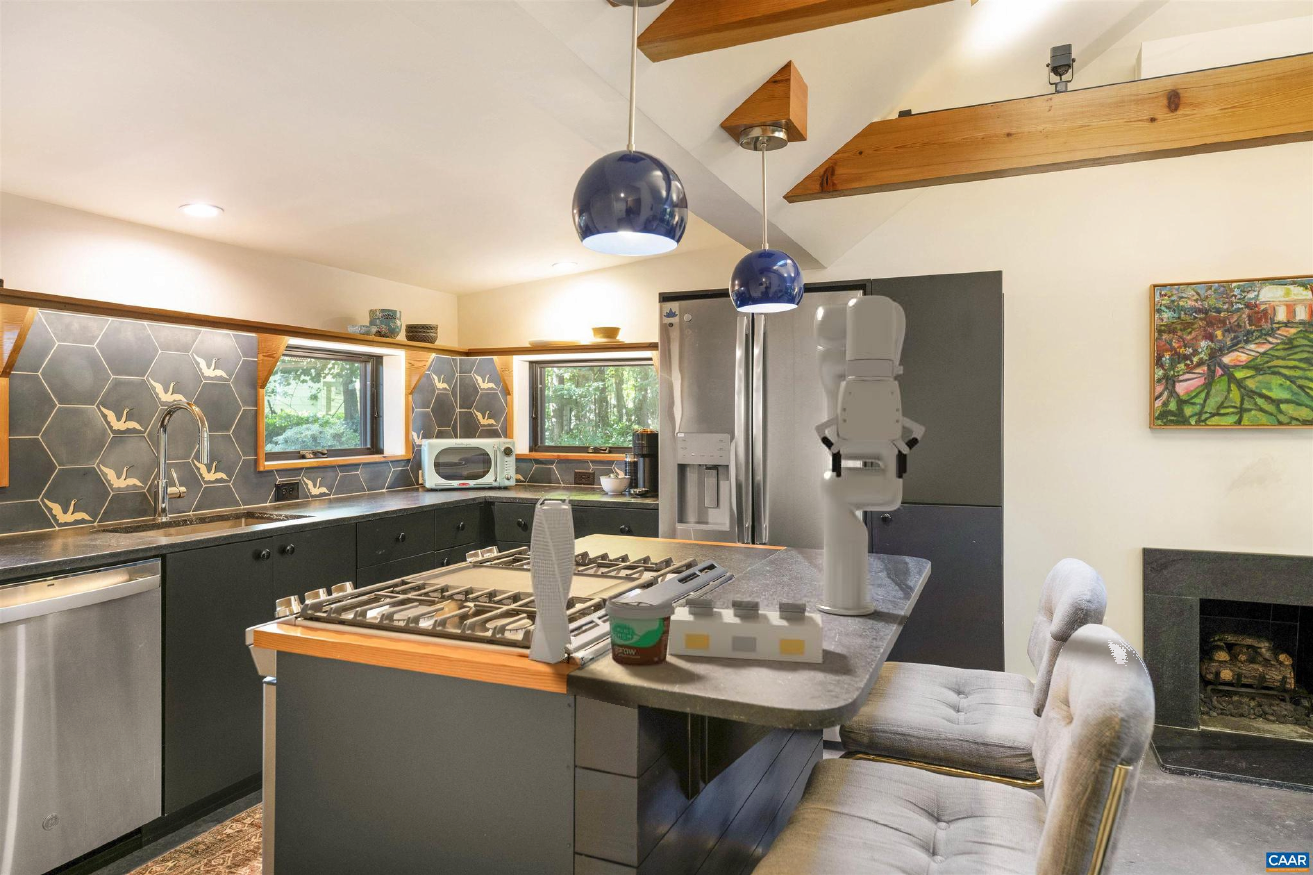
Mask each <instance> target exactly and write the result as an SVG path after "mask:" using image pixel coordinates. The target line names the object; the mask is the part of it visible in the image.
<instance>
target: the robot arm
mask: <svg viewBox="0 0 1313 875" xmlns="http://www.w3.org/2000/svg"><path fill="white" fill-rule="evenodd" d="M906 322H907V320H906V315H905V310H904V308H903V307H902V306H901V305H900V304H899V303H898V302H895V301H893V299H892V298H890V297H887V296H884V295H875V294H874V295H861V296H858V297H857V296H856V297H855V298H852V299H850V300H849V302H842V303H838V304H837V303H836V304H828V305H826V304H825V305H820V306H819V307H818V308H817V310H816V311H815V315H814V320H813V336H814V339H815V342H816V344H817V348H816V351H815V360H816V361H815V362H816V368H817V374H818V376H819V381H820V382H821V385H822V389H823V390H824V394H825V398H826V420H824V421H823V422H821V423H819V424H817V425H815V427H814V430H815V432H816V434H817V436H818V438H819V440H820V442H821V443H822V445H824V446H825V447H826V449H827V451H828V454H829V456H830V457H831V468H829V469H827V470H826V471H825V472H823V473H822V474H821V475H822V476H821V478H820V482H819V484H820V486H819V487H820V496H821V502H822V511H823V581H822V582H823V587H822V589H823V593H822V594H823V595H822V596H823V597H822V599H819V600H818V601H816V603H815V608H816V609H817V610H819V611H821V612H824V613H828V614H833V615H842V616H864V615H871V614H873V613H874V612H875V611H876V610H875V608H876V607H875V605H874V604H872V603H871V602H868V568H869V566H868V562H869V561H868V560H869V559H868V558H869V557H868V555H869V553H868V552H869V551H868V550H869V532H868V528H867V526H866V524H865V523H864V521H862V519H861V518H860V517H859V516H858V515H857V513H856V512H859V511H860V512H861V511H872V512H873V511H874V512H875V511H876V512H877V511H878V512H882V511H883V512H890V511H894V510H897V509H898V508H899V507H900V505H901V504H902V498H903V479H904V475H905V474H907V472H908V471H907V470H908V465H907V464H908V454H909V453H910V451H911V450H913V448H914V447H915V446H917V445H918V444H919V442H920V440H921V438H922V436H923V435H924V433H925V431H926V428H925V426H924V425H921V424H920V423H918V422H915V421H913V420H911V419H910V418H908V417H906V416H903V412H902V399H901V393H900V392H901V391H900V386H899V382H898V380H894V378H895V376H898V375H903V374H904V365H899V364H900V360H901V354H902V350H903V349H902V348H903V344H904V340H905V334H906ZM903 427H906V428H908V429H910V430H911V431H912V435H911V437H910V438H909V439H908V440H907V441H906V442H904V441H903V440H902V435H903ZM826 432H827V433H826ZM842 461H849V462H875V463H877V464H879V465H880V467H870V466H869V467H865V466H842Z"/></svg>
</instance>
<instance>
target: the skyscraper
mask: <svg viewBox="0 0 1313 875" xmlns="http://www.w3.org/2000/svg"><path fill="white" fill-rule="evenodd" d="M560 494H561V495H563V494H564V495H567V496H566V500H565V502H562V500H561V501H560V500H546V501H545V499H546V498H548V497H550V496H553V495H560ZM571 496H572V493H571V492H570V491H568V490H567V491H566V490H556V491H552V492H551V491H550V492H548V493H545V494H544V495H543V496H542V497H540V499H539V500H538V502H536V504H535V510H534V516H533V523H532V529H531V530H532V531H531V539H530V548H529V549H530V552H529V553H530V554H529V564H530V565H529V567H530V578H531V579H530V580H531V588H532V593H533V599H534V604H535V609H536V612H535V613H536V616H535V620H534V625H533V632H532V637H531V644H530V648H529V649H530V650H529V655H528V660H534V661H538V662H544V663H548V664H551V665H554V664H556V663H560V662H561V661H564V660H565V659H564V657H565V649H564V647H565V645H567V644H570V645H571V644H572V645H573V642H572V637H571V630H570V625H569V624H570V623H569V618H568V617H569V616H568V613H567V603H568V601H569V597H570V592H571V587H572V583H573V577H574V571H575V570H574V569H575V560H576V541H575V530H574V527H575V526H574V520H573V512H572V511H573V510H572V504H570V503H569V501H570V498H571ZM543 500H544V504H541V503H542V502H543ZM563 659H564V660H563Z"/></svg>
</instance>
